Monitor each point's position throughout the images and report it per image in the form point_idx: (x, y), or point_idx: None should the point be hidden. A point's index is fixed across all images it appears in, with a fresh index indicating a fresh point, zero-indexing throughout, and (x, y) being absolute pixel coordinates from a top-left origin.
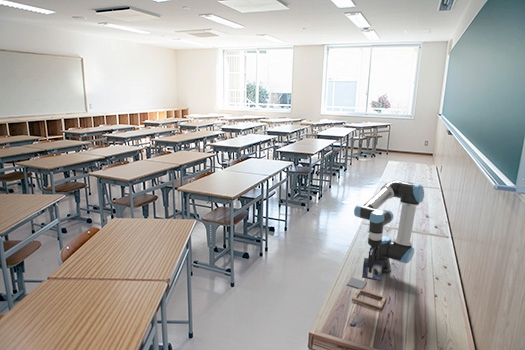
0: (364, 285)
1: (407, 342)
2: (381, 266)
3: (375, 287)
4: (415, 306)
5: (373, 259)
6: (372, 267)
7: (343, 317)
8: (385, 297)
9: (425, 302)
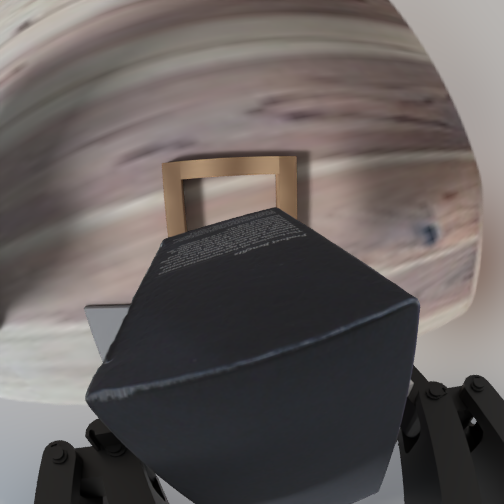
0: (118, 307)
1: (413, 45)
2: (403, 298)
3: (90, 255)
4: (142, 32)
5: (478, 500)
6: (445, 386)
7: (408, 279)
8: (170, 167)
9: (86, 20)
